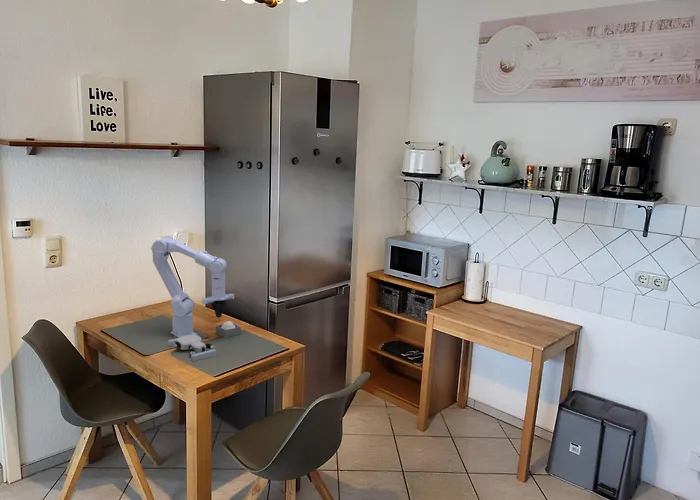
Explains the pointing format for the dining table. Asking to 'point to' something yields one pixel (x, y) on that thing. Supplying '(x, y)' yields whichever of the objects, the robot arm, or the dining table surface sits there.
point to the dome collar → (228, 331)
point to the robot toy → (192, 344)
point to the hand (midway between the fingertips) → (218, 317)
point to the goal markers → (198, 355)
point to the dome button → (228, 325)
